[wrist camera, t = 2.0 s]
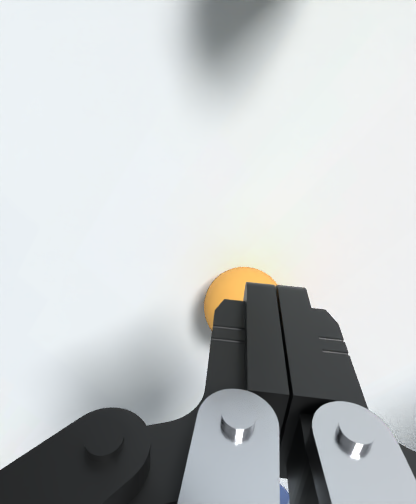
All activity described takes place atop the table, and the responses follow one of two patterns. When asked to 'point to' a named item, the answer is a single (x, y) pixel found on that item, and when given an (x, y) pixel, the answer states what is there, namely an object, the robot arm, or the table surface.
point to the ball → (231, 288)
